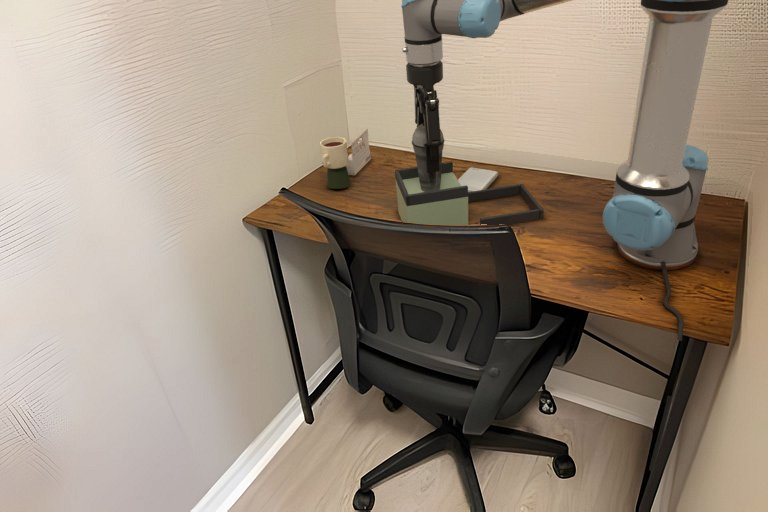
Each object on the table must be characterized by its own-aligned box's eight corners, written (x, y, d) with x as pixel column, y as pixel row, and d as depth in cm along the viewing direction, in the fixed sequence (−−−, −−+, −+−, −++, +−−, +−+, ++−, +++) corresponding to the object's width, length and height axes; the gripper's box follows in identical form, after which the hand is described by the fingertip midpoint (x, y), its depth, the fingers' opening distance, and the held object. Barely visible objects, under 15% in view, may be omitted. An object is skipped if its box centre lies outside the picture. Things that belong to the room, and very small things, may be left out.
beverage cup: (413, 195, 134) (407, 110, 123) (415, 181, 140) (410, 99, 129) (445, 194, 133) (442, 109, 122) (446, 180, 139) (443, 97, 128)
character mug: (338, 176, 167) (332, 132, 160) (360, 179, 164) (354, 135, 157) (317, 193, 159) (310, 148, 152) (340, 197, 156) (333, 151, 149)
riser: (543, 219, 138) (546, 174, 132) (409, 240, 136) (405, 196, 129) (522, 192, 150) (524, 150, 144) (398, 211, 147) (394, 169, 141)
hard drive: (469, 166, 161) (450, 186, 152) (498, 171, 157) (479, 191, 149) (469, 172, 162) (450, 192, 153) (498, 177, 158) (479, 197, 150)
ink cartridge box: (347, 175, 167) (343, 143, 162) (364, 159, 175) (360, 127, 170) (355, 176, 166) (351, 143, 161) (371, 159, 174) (368, 128, 169)
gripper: (397, 51, 129) (404, 149, 142) (416, 78, 112) (422, 186, 125) (430, 47, 130) (434, 144, 142) (454, 73, 113) (456, 180, 126)
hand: (429, 163), depth 134 cm, fingers closed on beverage cup, 7 cm apart
